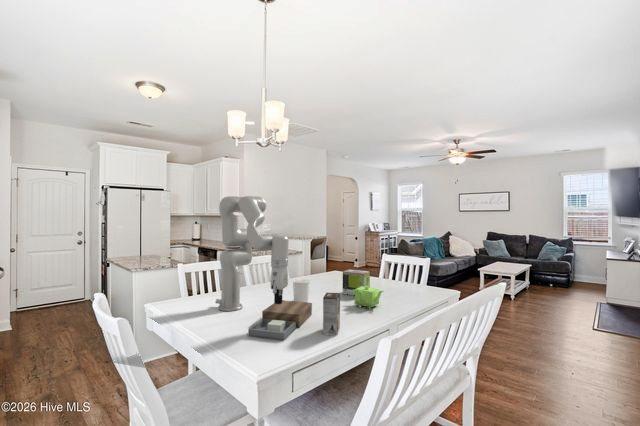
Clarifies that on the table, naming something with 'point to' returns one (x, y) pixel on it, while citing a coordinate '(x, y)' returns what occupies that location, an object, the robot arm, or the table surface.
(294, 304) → the brown slab
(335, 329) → the coffee box
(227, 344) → the table surface
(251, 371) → the table surface
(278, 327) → the tile
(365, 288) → the kettle
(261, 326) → the bin
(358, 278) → the tea box
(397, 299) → the table surface
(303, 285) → the candle holder
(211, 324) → the table surface
